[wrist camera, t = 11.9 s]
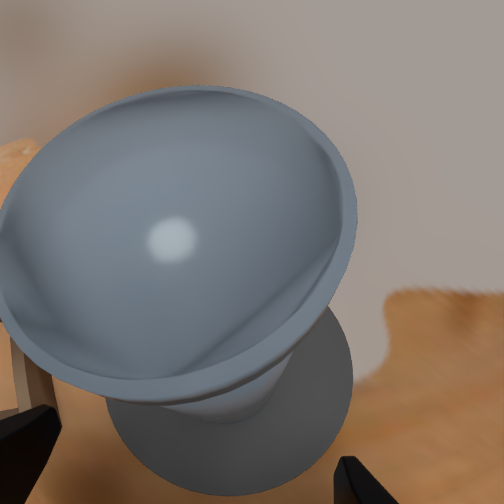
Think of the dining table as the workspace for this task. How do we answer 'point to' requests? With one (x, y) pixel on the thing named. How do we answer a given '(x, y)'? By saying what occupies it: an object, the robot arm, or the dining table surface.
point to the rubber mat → (251, 425)
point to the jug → (176, 248)
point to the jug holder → (29, 383)
